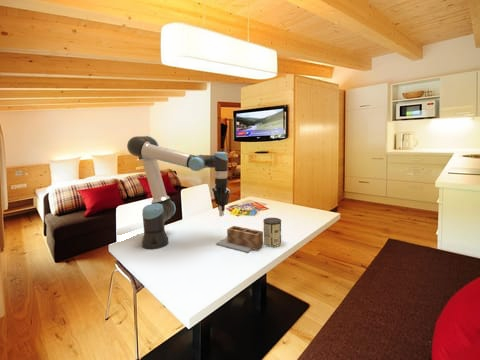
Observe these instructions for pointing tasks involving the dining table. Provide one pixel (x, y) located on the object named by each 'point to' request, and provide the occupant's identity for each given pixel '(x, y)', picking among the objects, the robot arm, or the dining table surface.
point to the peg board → (233, 246)
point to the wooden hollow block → (245, 237)
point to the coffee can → (272, 232)
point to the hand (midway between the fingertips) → (221, 215)
